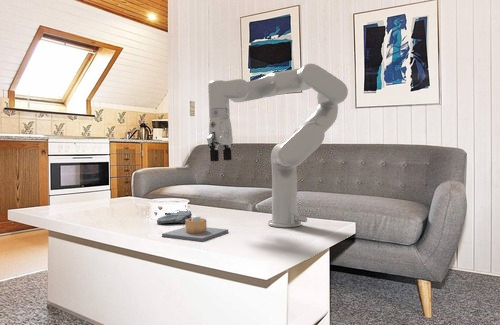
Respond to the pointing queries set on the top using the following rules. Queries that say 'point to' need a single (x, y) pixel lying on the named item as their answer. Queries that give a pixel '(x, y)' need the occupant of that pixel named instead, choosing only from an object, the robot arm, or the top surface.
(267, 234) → the top surface
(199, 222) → the ring
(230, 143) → the robot arm
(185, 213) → the fossil
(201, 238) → the grey square base plate
